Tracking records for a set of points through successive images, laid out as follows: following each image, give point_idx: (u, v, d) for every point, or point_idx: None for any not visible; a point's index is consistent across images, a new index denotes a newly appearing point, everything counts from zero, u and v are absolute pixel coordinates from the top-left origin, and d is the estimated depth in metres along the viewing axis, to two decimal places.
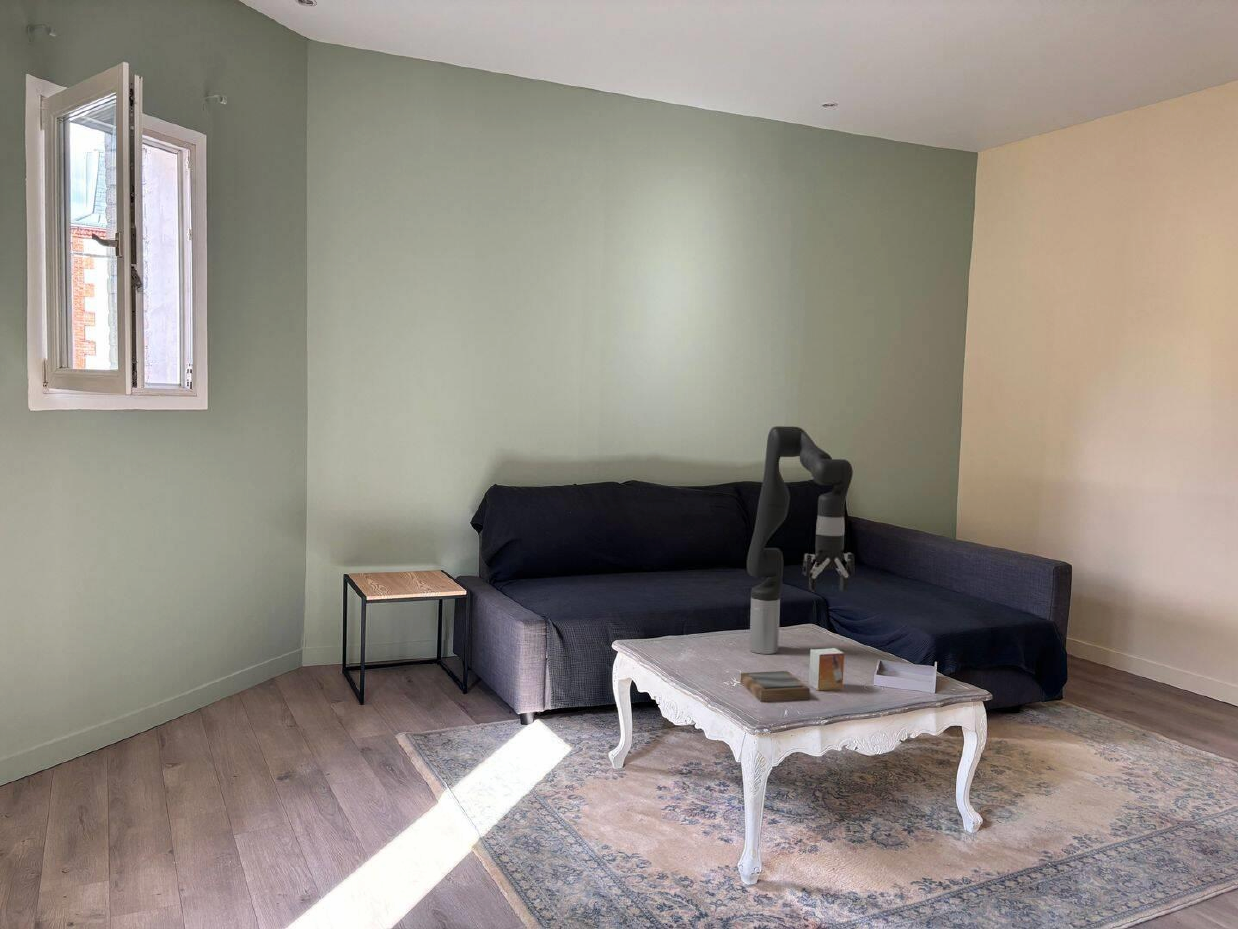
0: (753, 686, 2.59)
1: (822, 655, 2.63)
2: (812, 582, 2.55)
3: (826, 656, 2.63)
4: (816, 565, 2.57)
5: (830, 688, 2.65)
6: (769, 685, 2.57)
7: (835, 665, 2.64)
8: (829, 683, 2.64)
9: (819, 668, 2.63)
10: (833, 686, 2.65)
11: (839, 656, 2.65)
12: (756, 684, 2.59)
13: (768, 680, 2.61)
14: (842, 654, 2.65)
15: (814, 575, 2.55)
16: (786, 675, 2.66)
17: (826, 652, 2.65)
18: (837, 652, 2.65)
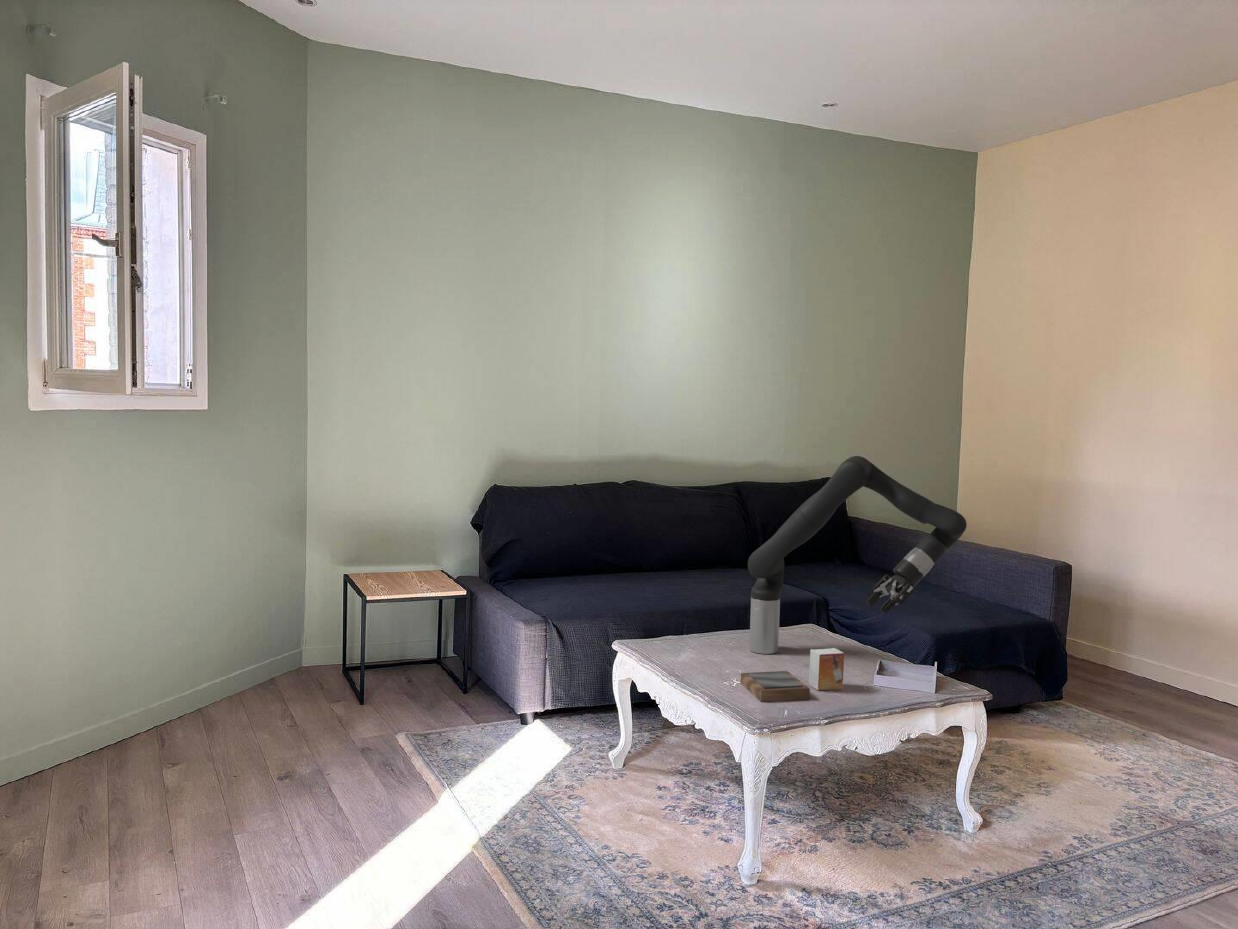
0: (753, 686, 2.59)
1: (822, 655, 2.63)
2: None
3: (826, 656, 2.63)
4: None
5: (830, 688, 2.65)
6: (769, 685, 2.57)
7: (835, 665, 2.64)
8: (829, 683, 2.64)
9: (819, 668, 2.63)
10: (833, 686, 2.65)
11: (839, 656, 2.65)
12: (756, 684, 2.59)
13: (768, 680, 2.61)
14: (842, 654, 2.65)
15: None
16: (786, 675, 2.66)
17: (826, 652, 2.65)
18: (837, 652, 2.65)
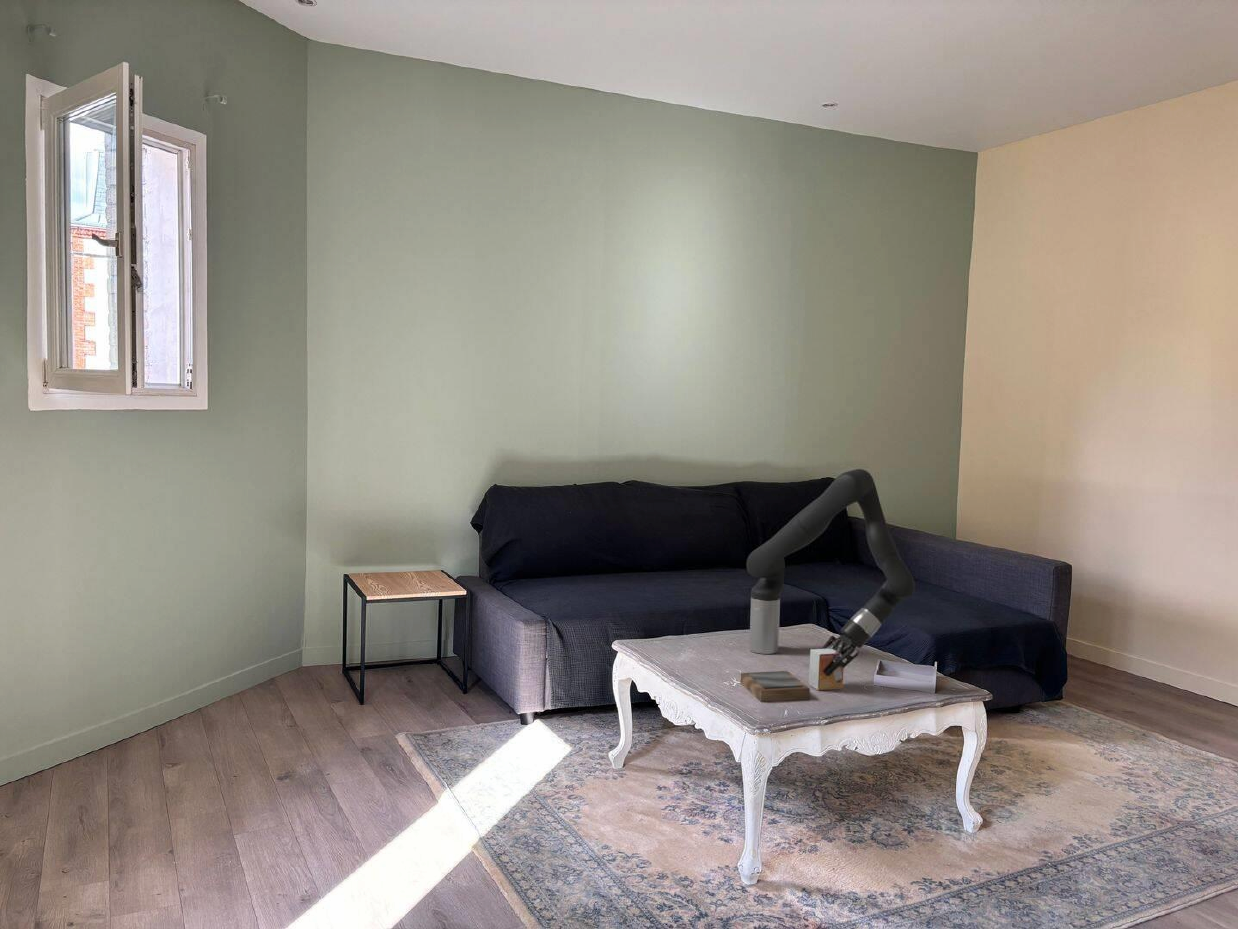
0: (753, 686, 2.59)
1: (822, 655, 2.63)
2: None
3: (826, 655, 2.63)
4: None
5: (830, 688, 2.65)
6: (769, 685, 2.57)
7: None
8: (829, 683, 2.64)
9: (819, 668, 2.63)
10: (833, 686, 2.65)
11: None
12: (756, 684, 2.59)
13: (768, 680, 2.61)
14: (842, 654, 2.65)
15: None
16: (786, 675, 2.66)
17: (826, 652, 2.65)
18: None
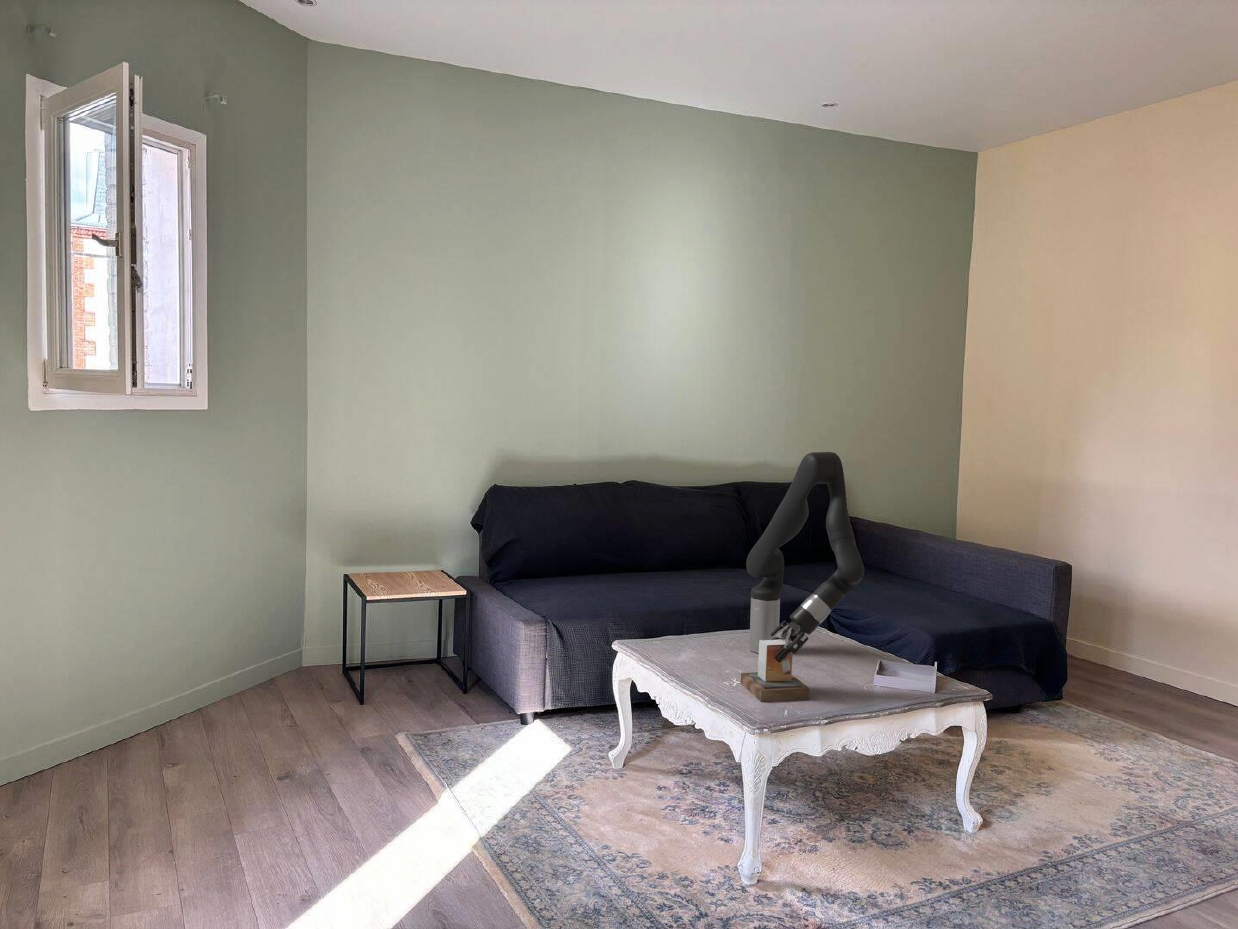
0: (753, 686, 2.59)
1: (769, 646, 2.59)
2: None
3: (774, 646, 2.59)
4: None
5: (778, 679, 2.60)
6: (769, 685, 2.57)
7: None
8: (777, 675, 2.60)
9: (766, 659, 2.59)
10: (781, 677, 2.60)
11: None
12: (756, 684, 2.59)
13: None
14: None
15: None
16: None
17: (774, 643, 2.61)
18: None
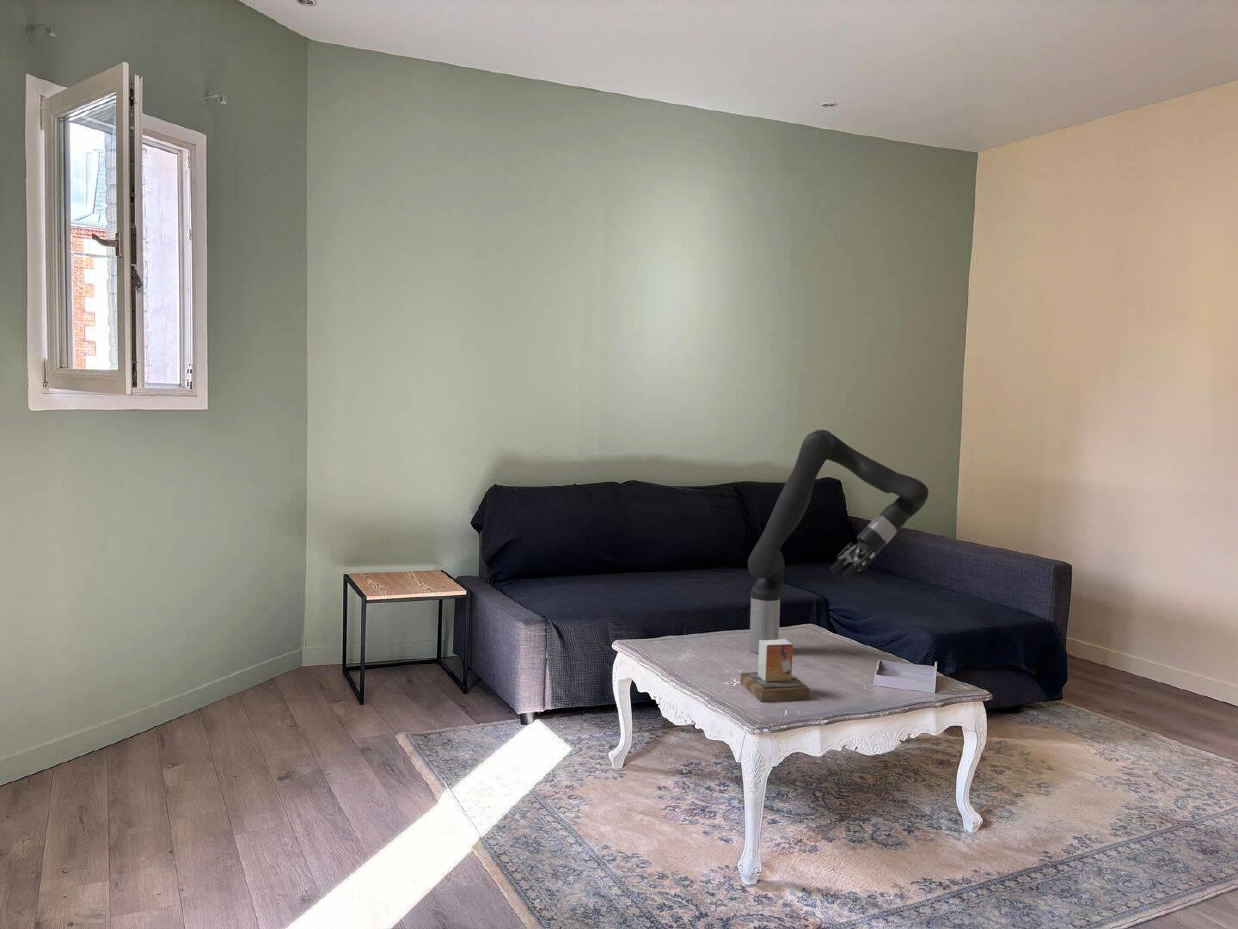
0: (753, 686, 2.59)
1: (769, 646, 2.59)
2: None
3: (774, 646, 2.59)
4: None
5: (778, 679, 2.60)
6: (769, 685, 2.57)
7: (783, 656, 2.60)
8: (777, 675, 2.60)
9: (766, 659, 2.59)
10: (781, 677, 2.60)
11: (787, 647, 2.60)
12: (756, 684, 2.59)
13: None
14: (790, 645, 2.60)
15: None
16: None
17: (774, 643, 2.61)
18: (786, 643, 2.61)
